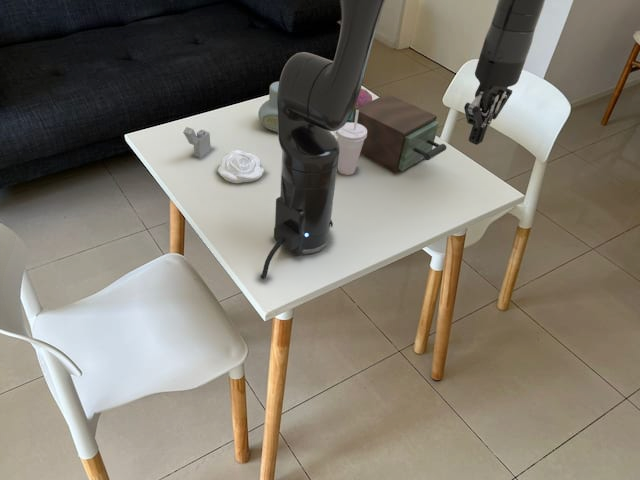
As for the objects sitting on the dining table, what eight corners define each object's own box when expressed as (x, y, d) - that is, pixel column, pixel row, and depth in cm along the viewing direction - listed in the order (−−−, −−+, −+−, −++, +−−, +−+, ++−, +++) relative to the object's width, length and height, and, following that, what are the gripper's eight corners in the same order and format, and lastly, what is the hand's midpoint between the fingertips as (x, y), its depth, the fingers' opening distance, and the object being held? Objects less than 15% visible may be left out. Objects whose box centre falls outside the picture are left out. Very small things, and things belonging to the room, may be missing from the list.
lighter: (204, 147, 119) (202, 115, 114) (211, 149, 119) (208, 117, 113) (186, 162, 115) (182, 129, 109) (192, 164, 114) (189, 131, 109)
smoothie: (359, 180, 112) (369, 119, 102) (329, 176, 113) (336, 115, 103) (362, 164, 116) (372, 104, 107) (333, 160, 117) (340, 100, 107)
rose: (235, 137, 114) (273, 150, 111) (236, 154, 117) (272, 168, 114) (207, 157, 108) (246, 172, 105) (208, 175, 111) (246, 191, 108)
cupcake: (374, 123, 130) (382, 76, 121) (341, 126, 128) (347, 78, 120) (362, 107, 136) (369, 60, 127) (331, 109, 134) (336, 63, 126)
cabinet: (427, 154, 120) (437, 115, 113) (395, 173, 114) (404, 133, 107) (380, 131, 127) (387, 93, 120) (348, 147, 121) (353, 108, 114)
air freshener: (254, 130, 125) (253, 90, 119) (265, 114, 131) (265, 75, 124) (298, 138, 123) (300, 98, 116) (307, 122, 129) (310, 82, 122)
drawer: (447, 162, 116) (456, 130, 111) (418, 180, 111) (427, 147, 106) (387, 132, 125) (393, 101, 119) (358, 147, 120) (363, 115, 114)
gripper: (504, 37, 96) (476, 124, 108) (464, 54, 89) (438, 145, 101) (543, 50, 92) (509, 139, 104) (503, 69, 85) (472, 161, 97)
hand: (474, 142), depth 103 cm, fingers closed
